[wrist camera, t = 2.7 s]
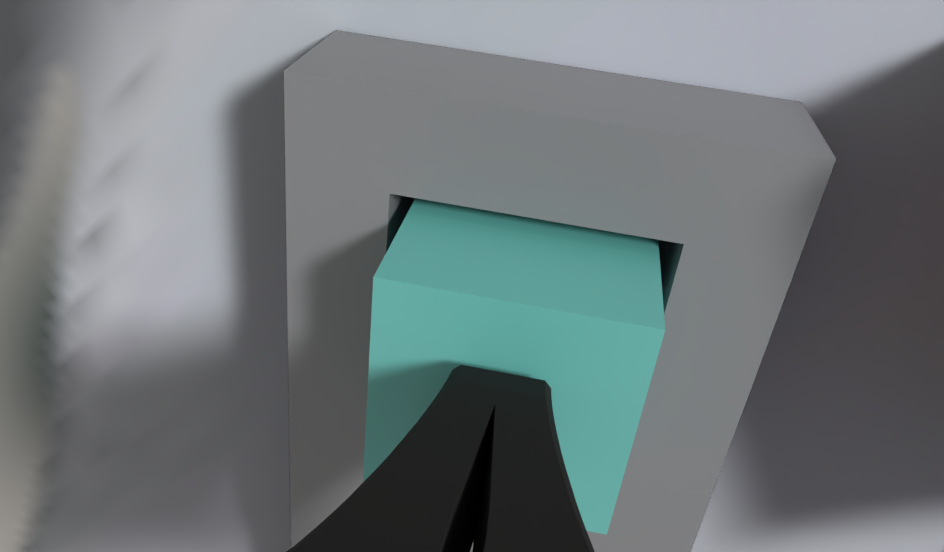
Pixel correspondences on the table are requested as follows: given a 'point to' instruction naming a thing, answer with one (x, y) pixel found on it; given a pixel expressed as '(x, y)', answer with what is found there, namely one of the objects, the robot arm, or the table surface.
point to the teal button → (519, 331)
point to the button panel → (552, 199)
